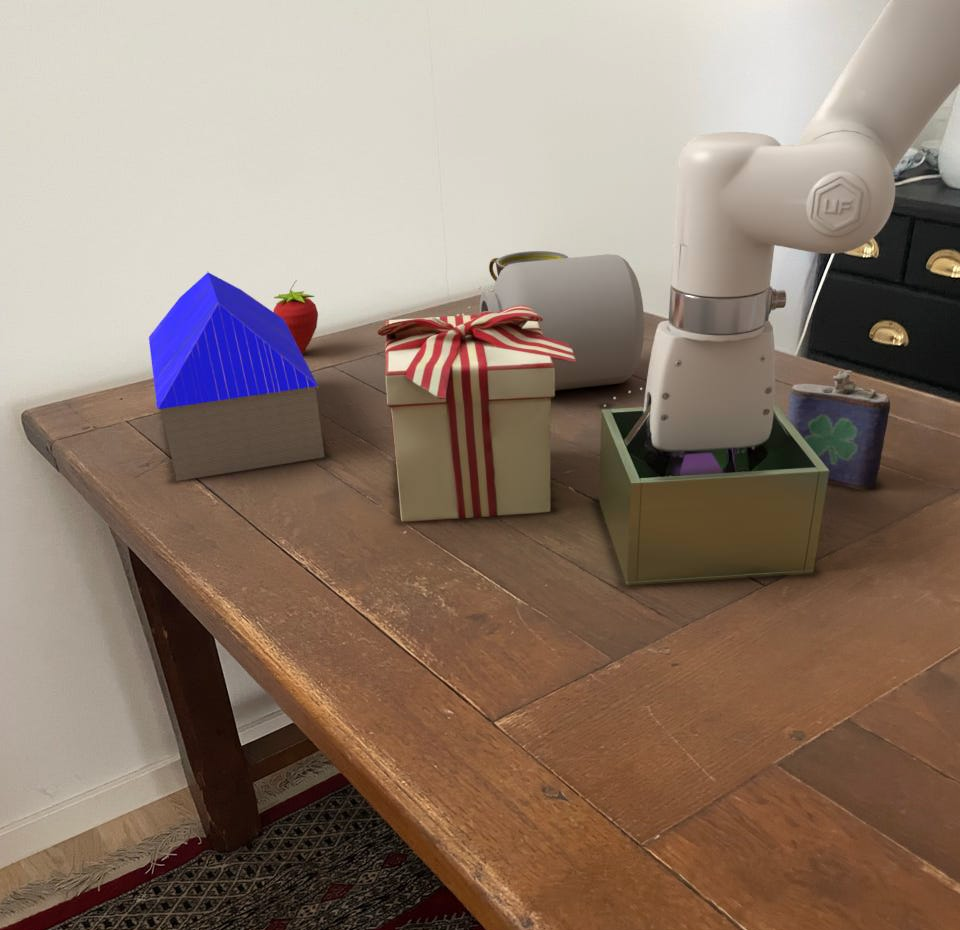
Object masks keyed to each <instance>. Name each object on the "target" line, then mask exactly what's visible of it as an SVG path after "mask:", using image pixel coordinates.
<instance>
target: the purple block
mask: <svg viewBox="0 0 960 930" xmlns="http://www.w3.org/2000/svg"><path fill="white" fill-rule="evenodd" d="M718 473H723V471H722V469H721V468H720V466H719V464H718V463H717V461H716V459H715V458H714V456H713V454H712V453H700V454H685V457H684V460H683V464H682V467H681V471H680V476H686V475H702V474H718Z"/></svg>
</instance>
